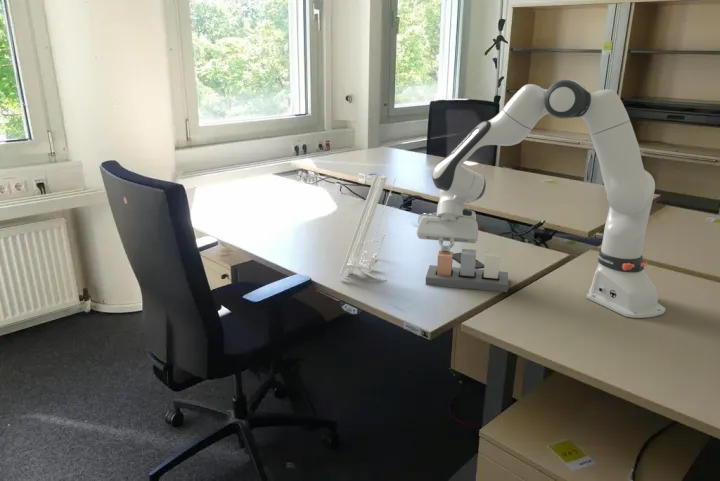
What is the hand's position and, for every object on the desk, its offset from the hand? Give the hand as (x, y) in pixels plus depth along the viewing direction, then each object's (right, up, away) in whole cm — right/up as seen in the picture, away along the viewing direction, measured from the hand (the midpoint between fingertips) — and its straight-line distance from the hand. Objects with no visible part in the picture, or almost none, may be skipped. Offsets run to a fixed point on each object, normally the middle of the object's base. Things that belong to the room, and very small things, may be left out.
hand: (445, 251), depth 174 cm
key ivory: (+15, -8, -1) cm, 17 cm away
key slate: (+7, -7, 0) cm, 10 cm away
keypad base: (+7, -10, +1) cm, 12 cm away
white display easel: (-23, -7, +10) cm, 26 cm away
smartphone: (+11, -4, +19) cm, 23 cm away
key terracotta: (0, -8, +3) cm, 8 cm away
